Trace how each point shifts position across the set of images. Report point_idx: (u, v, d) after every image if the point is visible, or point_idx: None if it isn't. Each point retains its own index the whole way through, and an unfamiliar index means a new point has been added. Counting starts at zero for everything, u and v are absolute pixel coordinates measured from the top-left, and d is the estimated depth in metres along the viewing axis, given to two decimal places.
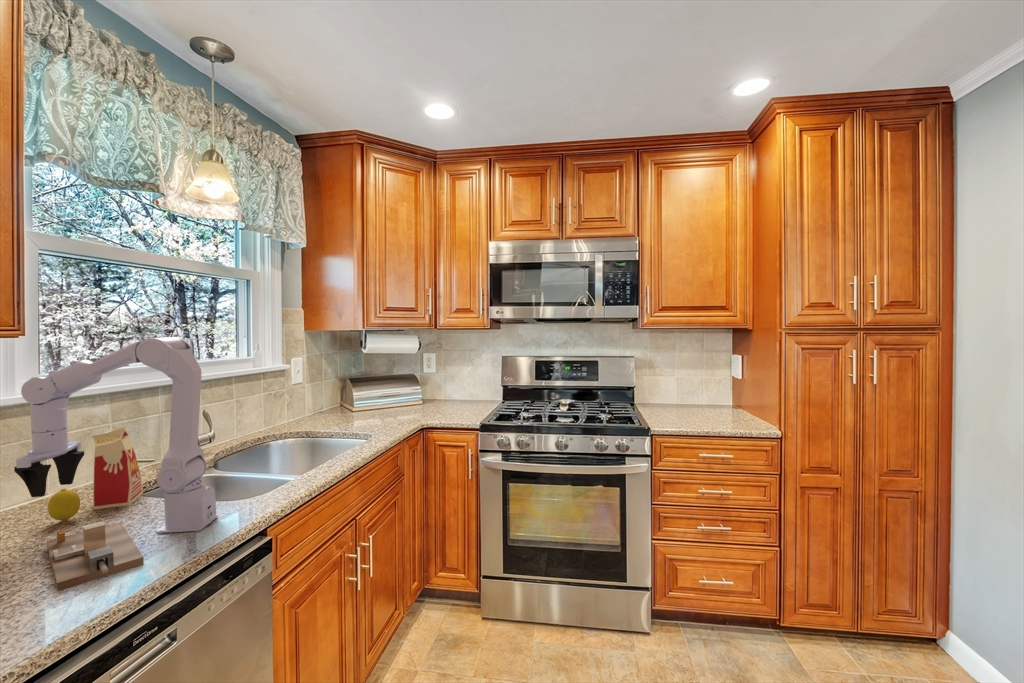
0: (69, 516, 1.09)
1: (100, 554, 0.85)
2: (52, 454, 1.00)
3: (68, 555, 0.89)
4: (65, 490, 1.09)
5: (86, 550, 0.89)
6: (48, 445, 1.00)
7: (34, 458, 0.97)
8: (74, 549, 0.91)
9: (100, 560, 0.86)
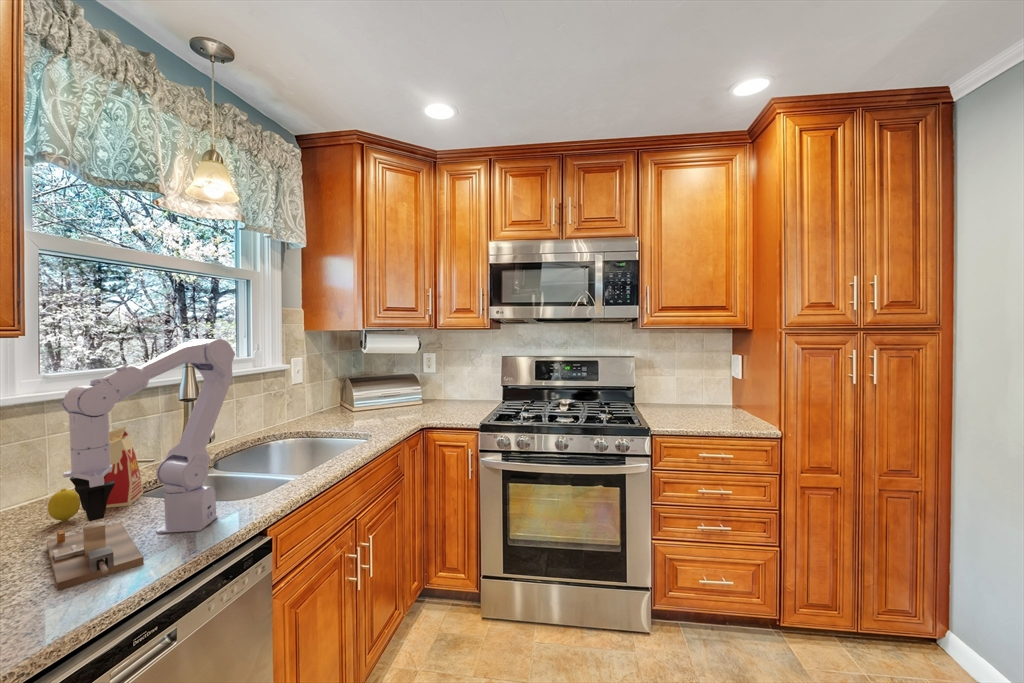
0: (69, 516, 1.09)
1: (100, 554, 0.85)
2: (108, 470, 0.91)
3: (68, 555, 0.89)
4: (65, 490, 1.09)
5: (86, 550, 0.89)
6: (102, 461, 0.90)
7: (104, 475, 0.88)
8: (74, 549, 0.91)
9: (100, 560, 0.86)
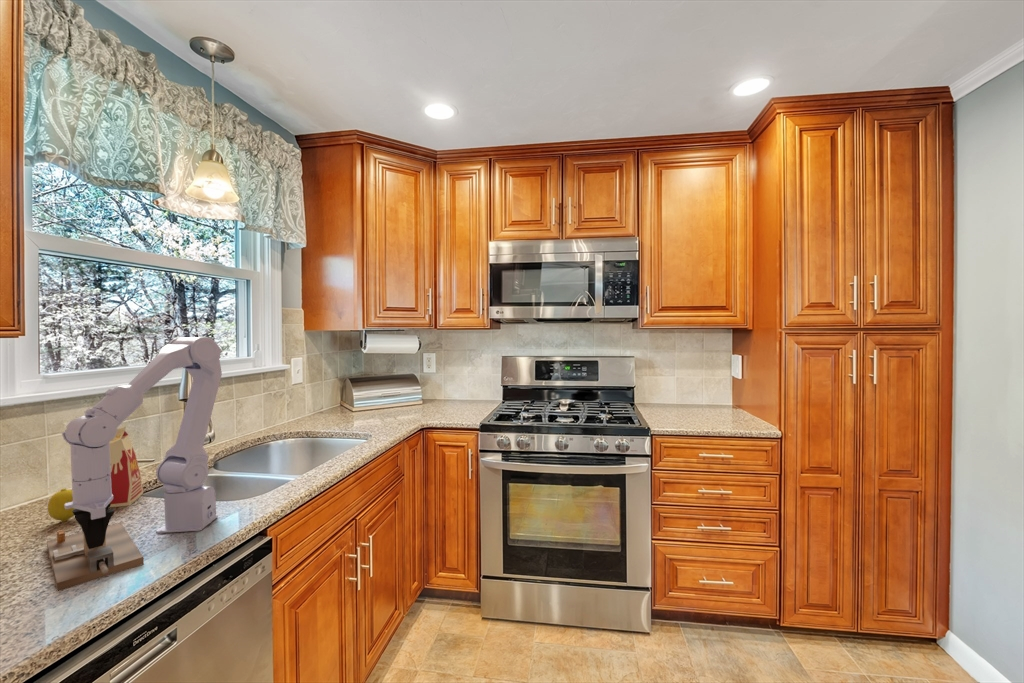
0: (69, 516, 1.09)
1: (100, 554, 0.85)
2: (110, 501, 0.91)
3: (68, 555, 0.89)
4: (65, 490, 1.09)
5: (86, 550, 0.89)
6: (103, 492, 0.90)
7: (105, 506, 0.88)
8: (74, 549, 0.91)
9: (100, 560, 0.86)
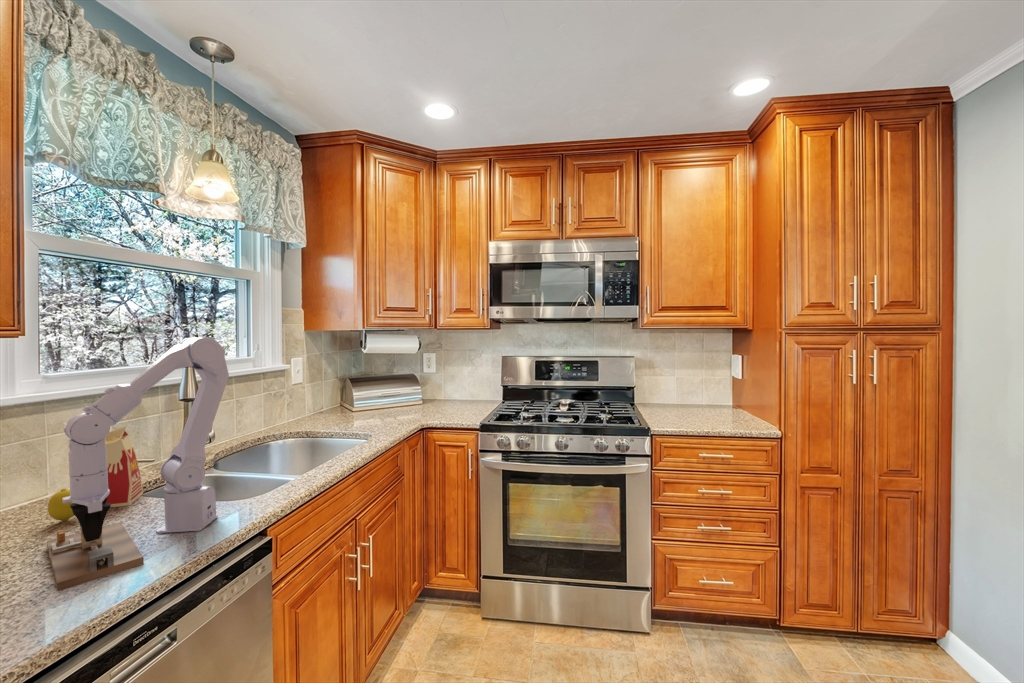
0: (69, 516, 1.09)
1: (100, 554, 0.85)
2: (106, 495, 0.94)
3: (66, 548, 0.92)
4: (65, 490, 1.09)
5: (83, 543, 0.92)
6: (100, 487, 0.93)
7: (102, 500, 0.91)
8: (72, 542, 0.94)
9: None
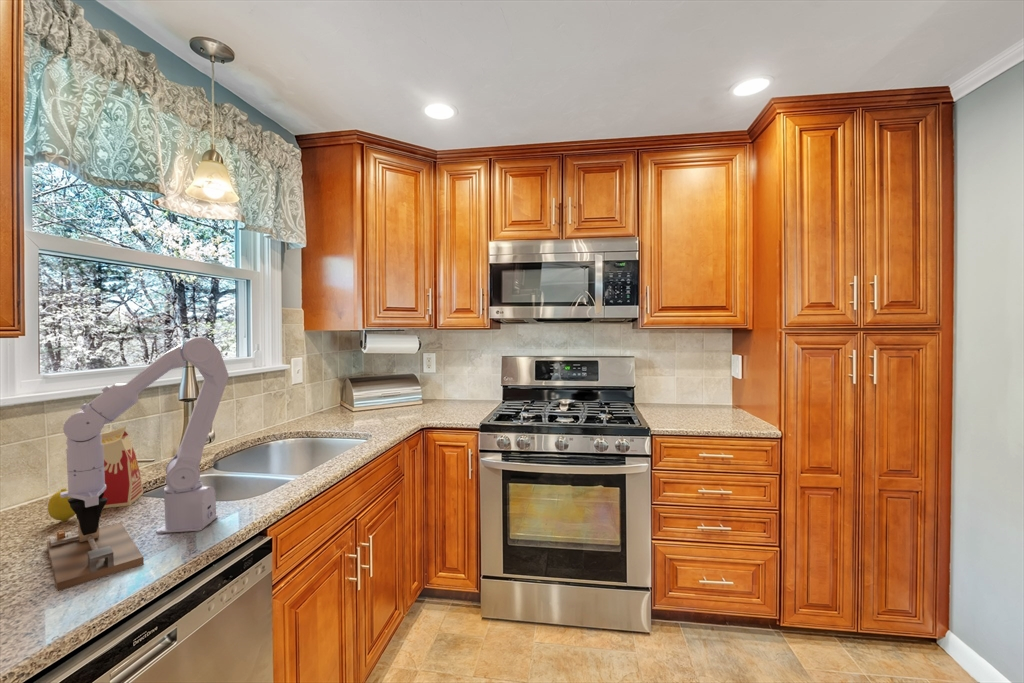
0: (69, 516, 1.09)
1: (100, 554, 0.85)
2: (103, 490, 0.97)
3: (63, 541, 0.95)
4: (65, 490, 1.09)
5: (80, 536, 0.95)
6: (97, 482, 0.96)
7: (98, 495, 0.94)
8: (69, 536, 0.97)
9: (93, 545, 0.92)
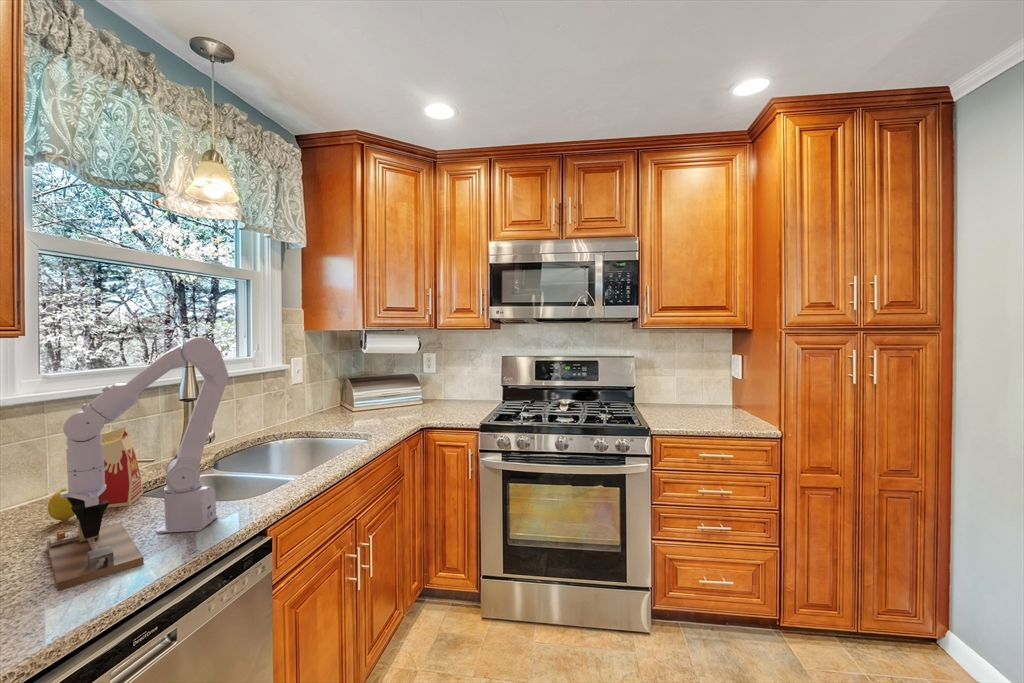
0: (69, 516, 1.09)
1: (100, 554, 0.85)
2: (103, 490, 0.97)
3: (63, 541, 0.95)
4: (65, 490, 1.09)
5: (80, 536, 0.95)
6: (97, 482, 0.96)
7: (98, 495, 0.94)
8: (69, 536, 0.97)
9: (93, 545, 0.92)
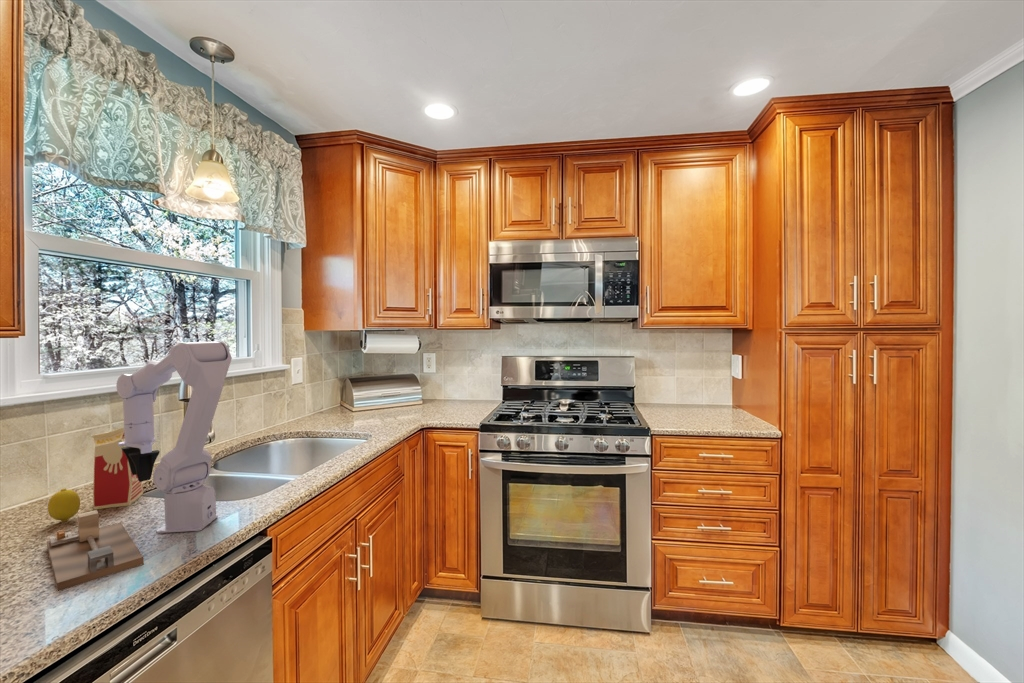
0: (69, 516, 1.09)
1: (100, 554, 0.85)
2: (153, 442, 1.13)
3: (63, 541, 0.95)
4: (65, 490, 1.09)
5: (80, 536, 0.95)
6: (149, 434, 1.12)
7: None
8: (69, 536, 0.97)
9: (93, 545, 0.92)
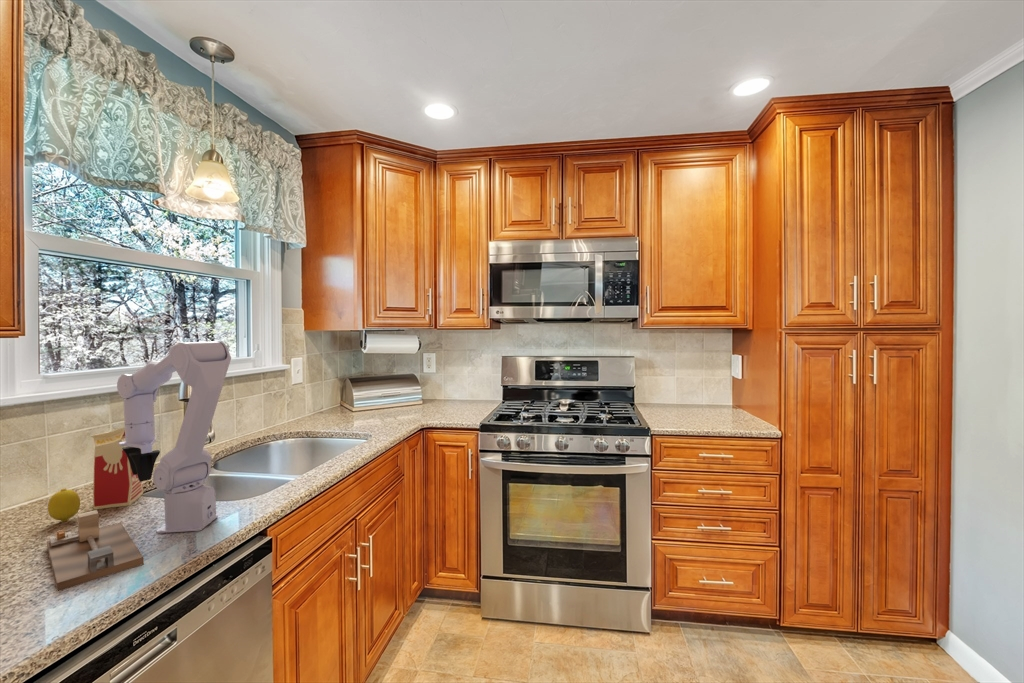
0: (69, 516, 1.09)
1: (100, 554, 0.85)
2: (154, 442, 1.13)
3: (63, 541, 0.95)
4: (65, 490, 1.09)
5: (80, 536, 0.95)
6: (149, 434, 1.12)
7: (151, 444, 1.10)
8: (69, 536, 0.97)
9: (93, 545, 0.92)
